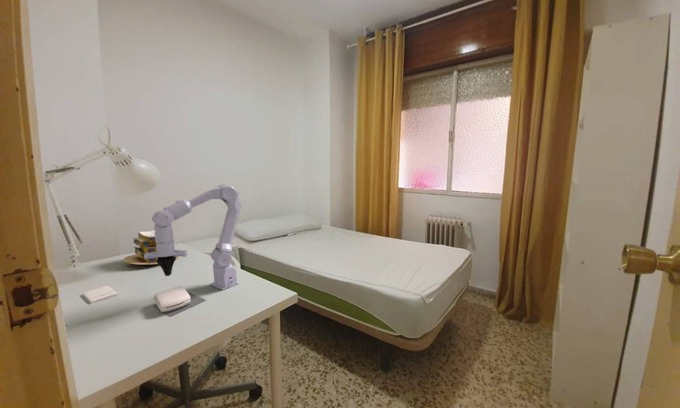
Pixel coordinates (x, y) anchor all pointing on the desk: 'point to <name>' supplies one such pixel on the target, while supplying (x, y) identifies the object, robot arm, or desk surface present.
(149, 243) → the sandwich platter
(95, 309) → the desk surface
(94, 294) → the external hard drive
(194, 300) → the rubber mat
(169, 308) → the photo printer
